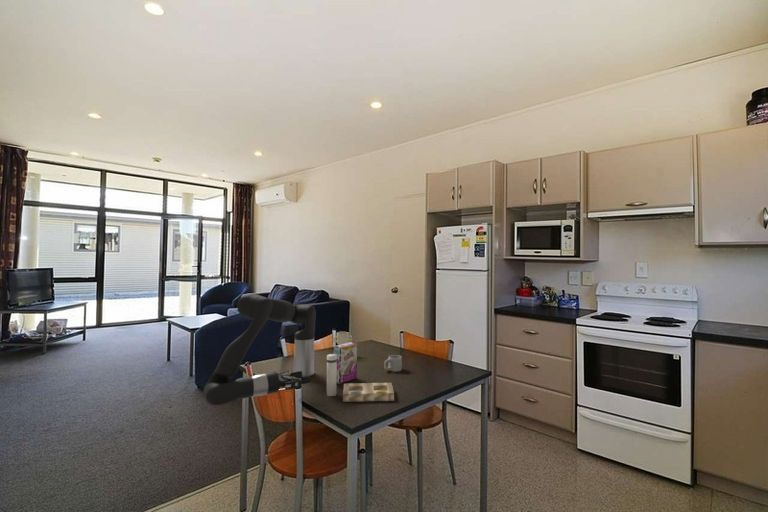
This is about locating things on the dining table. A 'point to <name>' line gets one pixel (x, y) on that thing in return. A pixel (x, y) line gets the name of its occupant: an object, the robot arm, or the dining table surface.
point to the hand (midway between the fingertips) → (305, 376)
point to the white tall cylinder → (331, 374)
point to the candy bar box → (346, 362)
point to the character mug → (342, 338)
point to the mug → (393, 363)
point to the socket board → (368, 392)
